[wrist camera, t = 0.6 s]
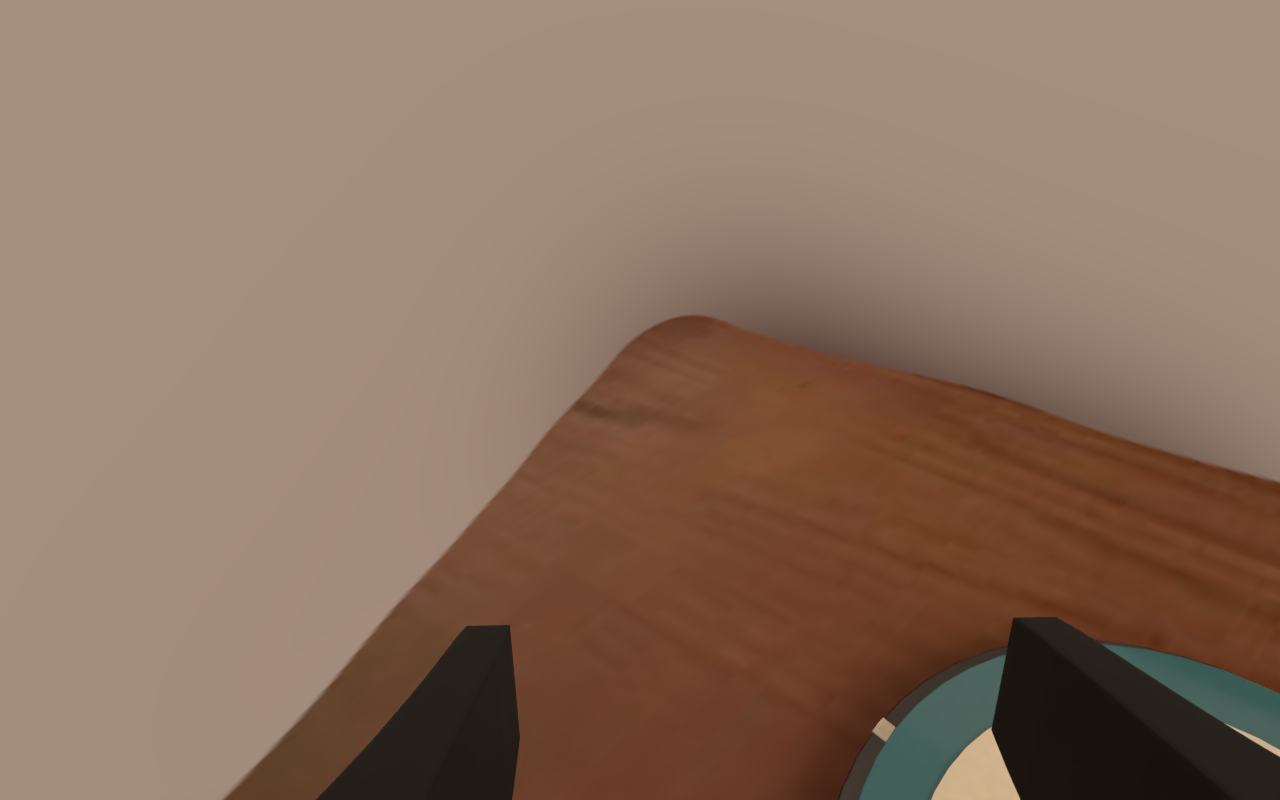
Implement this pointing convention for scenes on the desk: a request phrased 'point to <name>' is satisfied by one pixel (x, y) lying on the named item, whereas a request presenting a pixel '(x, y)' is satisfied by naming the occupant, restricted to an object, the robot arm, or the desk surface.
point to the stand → (904, 706)
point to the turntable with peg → (969, 756)
